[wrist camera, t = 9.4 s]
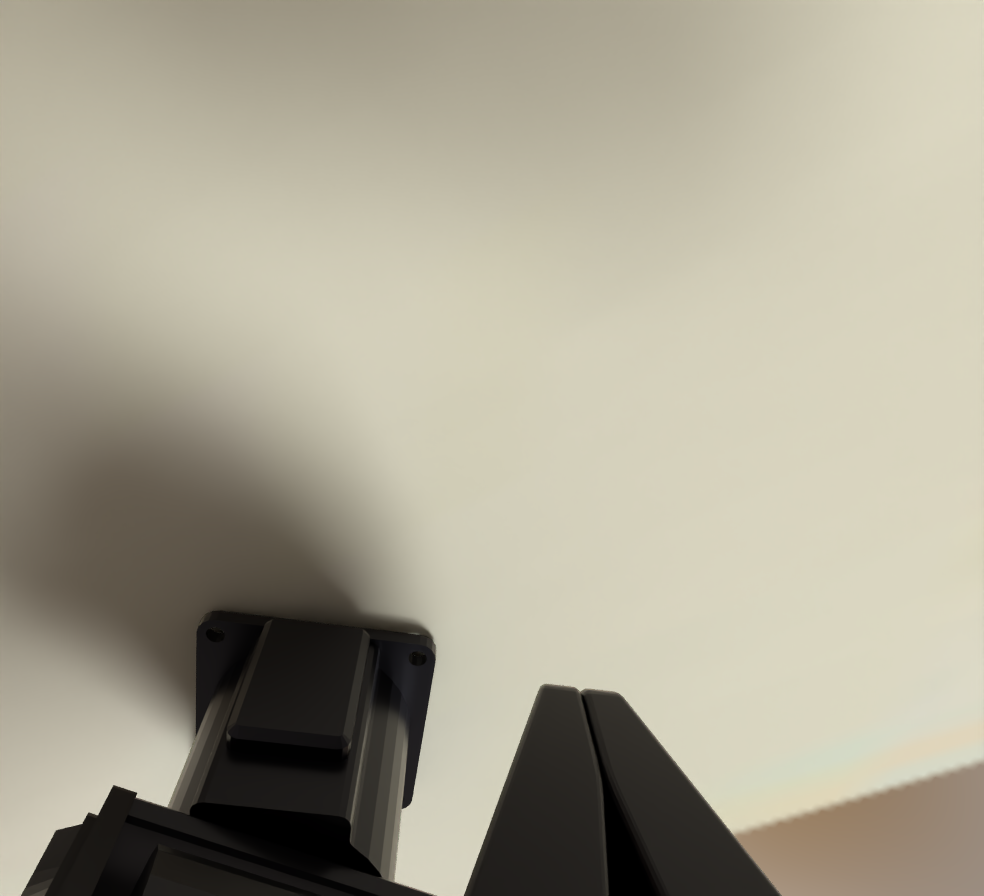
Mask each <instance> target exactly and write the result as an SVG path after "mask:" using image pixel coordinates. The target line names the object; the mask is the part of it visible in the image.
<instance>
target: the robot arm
mask: <svg viewBox="0 0 984 896" xmlns="http://www.w3.org/2000/svg"><path fill="white" fill-rule="evenodd" d="M213 627H216V628H219V629H221V630H222V631H223V632H224V633H218V632H215V631H214V630H213V629H211V628H213ZM418 651H419V652H422V653H424V654H425V655H423V656H415V655H413V654H412V653H413V652H418ZM435 661H436V645H435V644H434V642H433V641H432V640H431V639H429V638H428V637H426V636H422V635H416V634H407V633H399V632H391V631H382V630H374V629H366V628H357V627H349V626H341V625H333V624H324V623H316V622H308V621H299V620H291V619H283V618H275V617H266V616H258V615H250V614H241V613H233V612H225V611H212V612H209V613H207V614H206V615H205V616H204V617H203V618H202V620H201V622H200V624H199V626H198V629H197V648H196V738H195V741H194V743H193V746H192V748H191V751H190V753H189V755H188V758H187V760H186V763H185V765H184V768H183V770H182V773H181V775H180V778H179V780H178V783H177V785H176V787H175V790H174V792H173V795H172V797H171V800H170V802H169V805H168V807H164V806H161V805H157V804H154V803H151V802H148V801H145V800H142V799H139V798H136V795H137V793H136V792H133V791H130V790H127V789H124V788H121V787H118V786H115V785H113V787H112V789H111V791H110V793H109V795H108V797H107V799H106V801H105V803H104V805H103V807H102V809H101V811H100V813H99V815H95V814H92V813H88V814H87V816H86V818H85V820H84V822H83V824H80V825H76V826H72V827H68V828H64V829H60V830H56V832H55V834H54V835H53V837H52V839H51V841H50V843H49V845H48V847H47V849H46V850H45V852H44V854H43V856H42V858H41V860H40V862H39V863H38V865H37V867H36V869H35V871H34V873H33V875H32V876H31V878H30V880H29V882H28V884H27V886H26V888H25V889H24V891H23V893H22V895H21V896H436V895H433V894H430V893H427V892H424V891H421V890H418V889H415V888H412V887H408V886H405V885H402V884H399V883H396V882H394V879H395V869H396V860H397V850H398V840H399V830H400V820H401V810H402V809H403V808H406V807H407V806H408V805H410V803H411V801H412V797H413V791H414V785H415V779H416V773H417V767H418V761H419V755H420V749H421V744H422V738H423V732H424V726H425V720H426V714H427V708H428V702H429V696H430V690H431V684H432V679H433V673H434V667H435ZM464 896H782V895H781V894H780V893H779V891H778V890H777V889H776V888H775V886H774V885H773V884H772V883H771V881H770V880H769V879H768V878H767V876H766V875H765V874H764V873H763V872H762V870H761V869H760V868H759V866H758V865H757V864H756V863H755V862H754V860H753V859H752V858H751V856H750V855H749V854H748V853H747V851H746V850H745V849H744V848H743V846H742V845H741V844H740V843H739V841H738V840H737V839H736V838H735V836H734V835H733V834H732V833H731V831H730V830H729V829H728V828H727V826H726V825H725V824H724V823H723V821H722V820H721V819H720V818H719V816H718V815H717V814H716V813H715V811H714V810H713V809H712V808H711V806H710V805H709V804H708V803H707V801H706V800H705V799H704V798H703V796H702V795H701V794H700V792H699V791H698V790H697V789H696V787H695V786H694V785H693V784H692V782H691V781H690V780H689V779H688V777H687V776H686V775H685V774H684V772H683V771H682V770H681V769H680V767H679V766H678V765H677V764H676V762H675V761H674V760H673V759H672V757H671V756H670V755H669V754H668V752H667V751H666V750H665V749H664V747H663V746H662V745H661V744H660V742H659V741H658V740H657V739H656V737H655V736H654V735H653V734H652V732H651V731H650V730H649V729H648V727H647V726H646V725H645V724H644V722H643V721H642V720H641V719H640V717H639V716H638V715H637V714H636V712H635V711H634V710H633V709H632V707H631V706H630V705H629V704H628V702H627V701H626V700H625V699H624V697H623V696H621V695H620V694H619V693H616V692H612V691H603V690H595V689H584V690H582V691H581V692H580V691H579V690H578V689H576V688H575V687H570V686H561V685H552V684H544V685H542V686H541V687H540V689H539V691H538V694H537V696H536V699H535V702H534V705H533V707H532V710H531V713H530V716H529V718H528V721H527V724H526V727H525V729H524V732H523V735H522V738H521V740H520V743H519V746H518V749H517V751H516V754H515V757H514V759H513V762H512V765H511V768H510V770H509V773H508V776H507V779H506V781H505V784H504V787H503V790H502V792H501V795H500V798H499V801H498V803H497V806H496V809H495V812H494V814H493V817H492V820H491V823H490V825H489V828H488V831H487V834H486V836H485V839H484V842H483V845H482V847H481V850H480V853H479V856H478V858H477V861H476V864H475V867H474V869H473V872H472V875H471V878H470V880H469V883H468V886H467V889H466V891H465V894H464Z"/></svg>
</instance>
